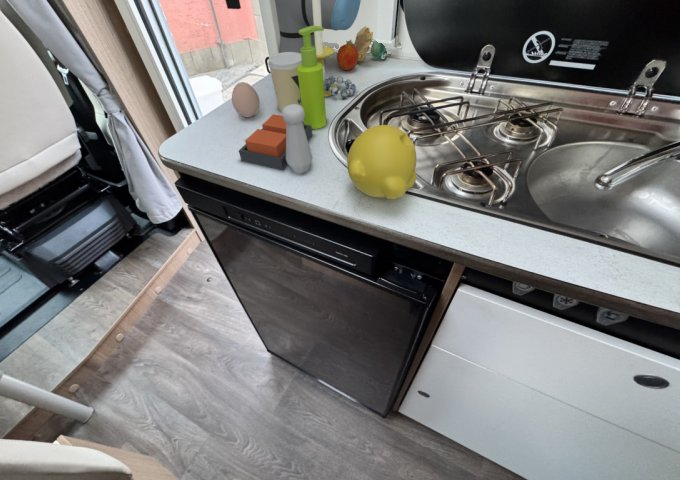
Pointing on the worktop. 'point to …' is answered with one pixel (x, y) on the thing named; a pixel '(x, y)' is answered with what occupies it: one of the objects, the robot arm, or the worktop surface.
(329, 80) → the bracelet
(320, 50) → the yellow disc white stick
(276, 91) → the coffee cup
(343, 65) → the fruit
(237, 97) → the egg
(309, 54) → the soap dispenser
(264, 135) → the seated pad
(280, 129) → the loose pad
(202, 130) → the worktop surface
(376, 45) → the cartoon bug character
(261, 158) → the pad frame
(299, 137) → the salt shaker
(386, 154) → the sculpture
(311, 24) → the robot arm
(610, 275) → the worktop surface
